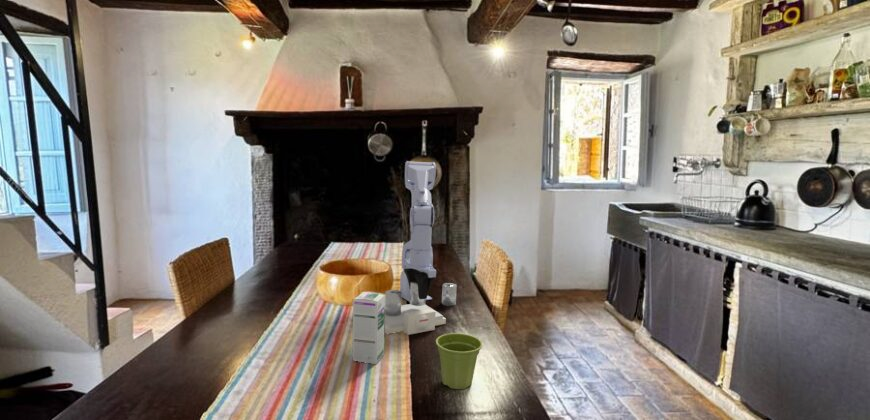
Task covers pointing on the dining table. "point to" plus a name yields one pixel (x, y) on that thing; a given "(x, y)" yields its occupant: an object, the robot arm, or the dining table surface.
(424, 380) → the dining table surface
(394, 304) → the cylinder
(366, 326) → the syrup box
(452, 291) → the cylinder
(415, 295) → the cylinder
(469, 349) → the plant pot
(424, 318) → the scale
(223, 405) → the dining table surface
